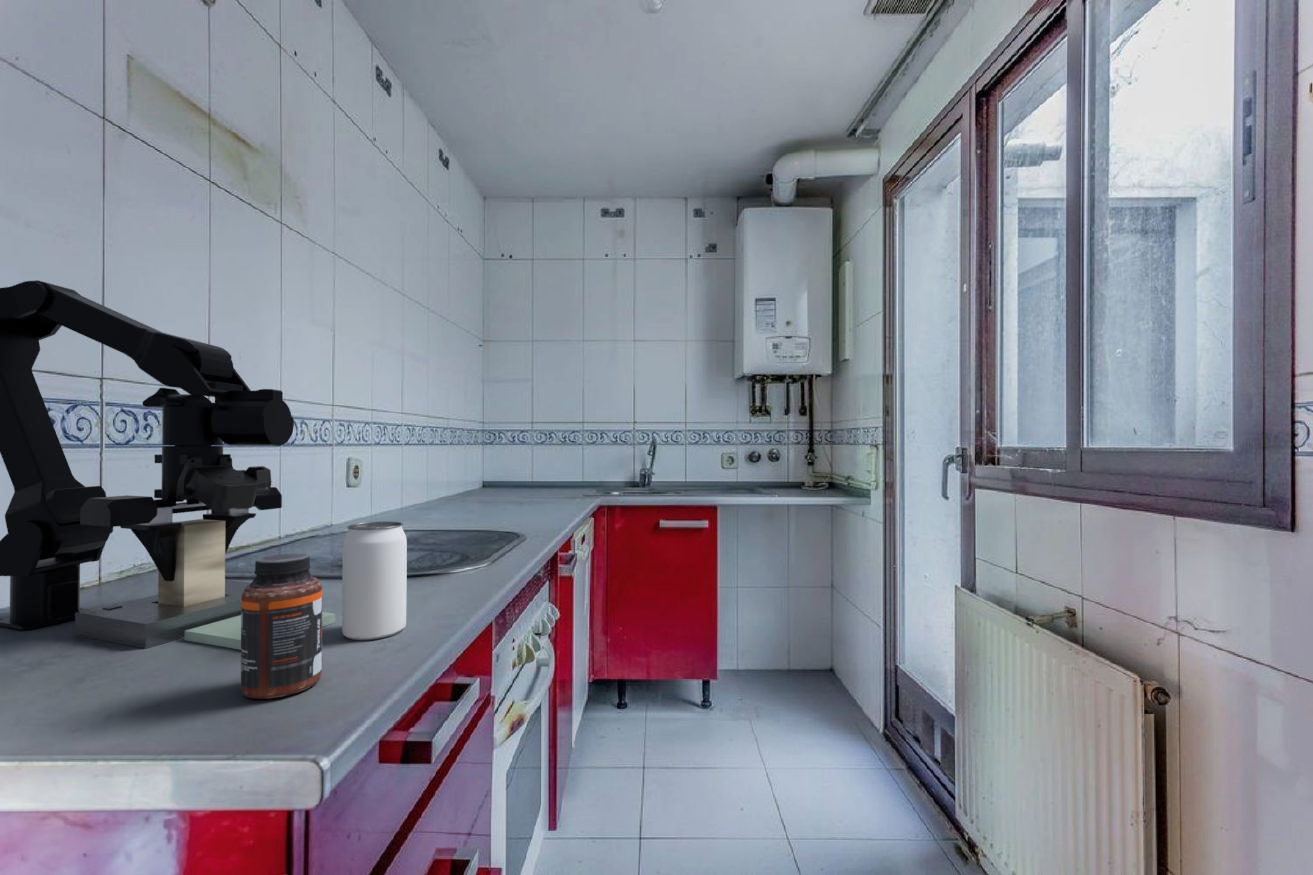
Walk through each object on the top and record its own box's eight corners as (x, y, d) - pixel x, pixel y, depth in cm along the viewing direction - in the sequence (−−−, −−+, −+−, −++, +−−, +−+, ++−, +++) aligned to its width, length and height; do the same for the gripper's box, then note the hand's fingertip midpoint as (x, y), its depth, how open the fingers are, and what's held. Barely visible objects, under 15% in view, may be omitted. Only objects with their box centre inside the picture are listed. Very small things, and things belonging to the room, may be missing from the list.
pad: (184, 640, 61) (184, 630, 61) (274, 613, 71) (274, 605, 71) (250, 651, 58) (250, 641, 58) (335, 622, 68) (335, 613, 68)
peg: (158, 617, 67) (158, 524, 67) (199, 607, 71) (200, 519, 71) (183, 621, 66) (184, 525, 66) (224, 611, 70) (225, 520, 70)
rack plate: (75, 635, 63) (75, 611, 63) (226, 597, 78) (226, 578, 78) (145, 648, 59) (145, 623, 59) (290, 606, 74) (290, 586, 74)
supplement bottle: (338, 678, 52) (339, 552, 52) (274, 707, 46) (276, 566, 46) (289, 669, 54) (290, 548, 54) (223, 696, 48) (224, 560, 48)
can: (380, 643, 61) (381, 529, 61) (328, 639, 62) (328, 528, 62) (418, 624, 67) (418, 521, 67) (369, 621, 68) (370, 520, 68)
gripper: (145, 446, 57) (144, 603, 57) (313, 445, 75) (312, 565, 75) (77, 446, 61) (76, 593, 61) (252, 445, 79) (251, 559, 78)
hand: (192, 576), depth 69 cm, fingers closed on peg, 4 cm apart
